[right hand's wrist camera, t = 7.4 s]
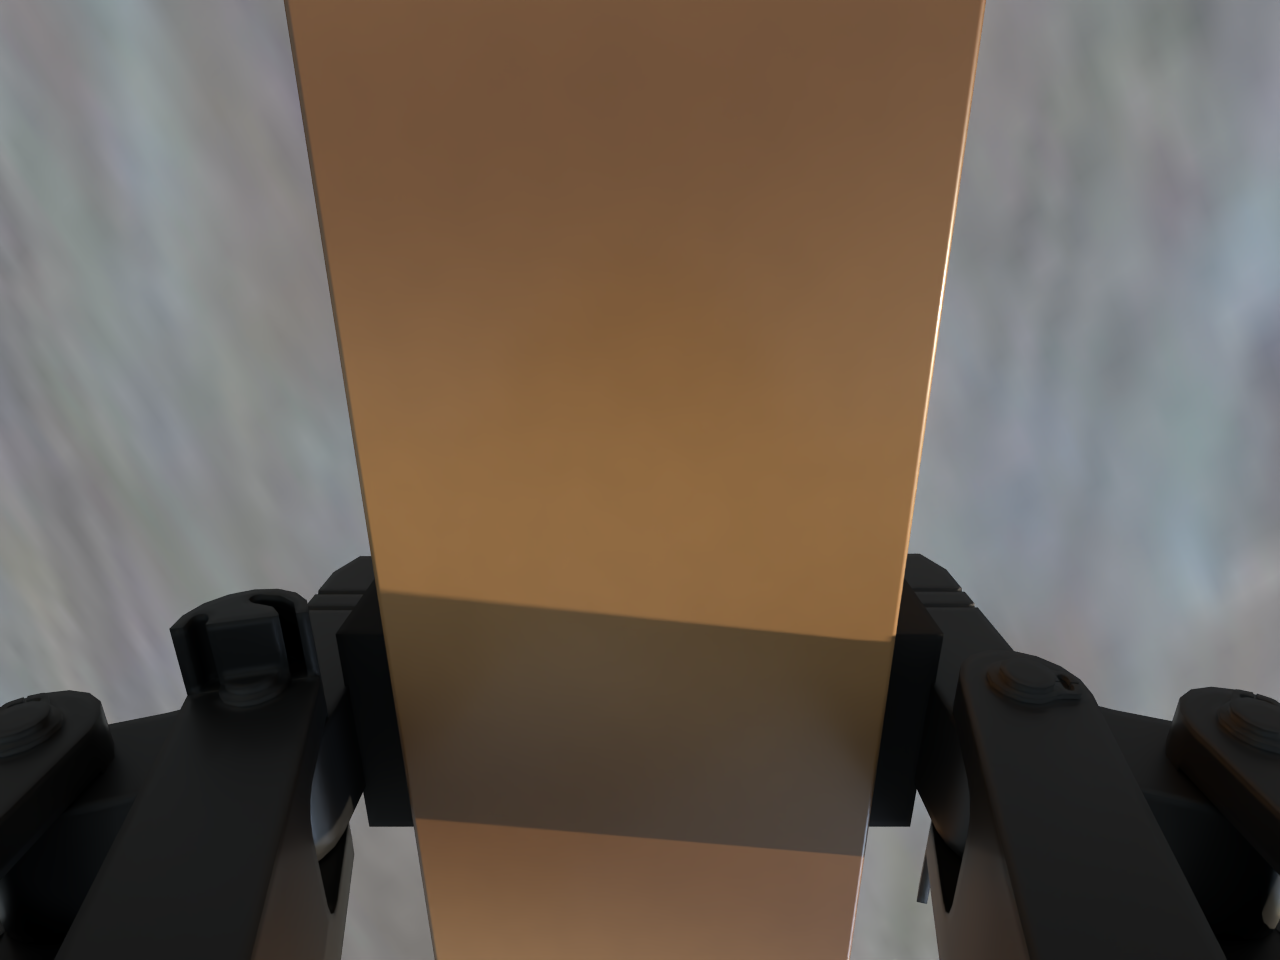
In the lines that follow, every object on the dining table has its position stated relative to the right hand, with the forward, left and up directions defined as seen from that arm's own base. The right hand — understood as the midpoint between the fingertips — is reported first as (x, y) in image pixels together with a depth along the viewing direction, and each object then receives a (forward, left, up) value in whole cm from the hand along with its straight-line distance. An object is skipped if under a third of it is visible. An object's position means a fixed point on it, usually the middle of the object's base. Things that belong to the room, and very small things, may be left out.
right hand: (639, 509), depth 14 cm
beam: (+11, +19, 0) cm, 22 cm away
